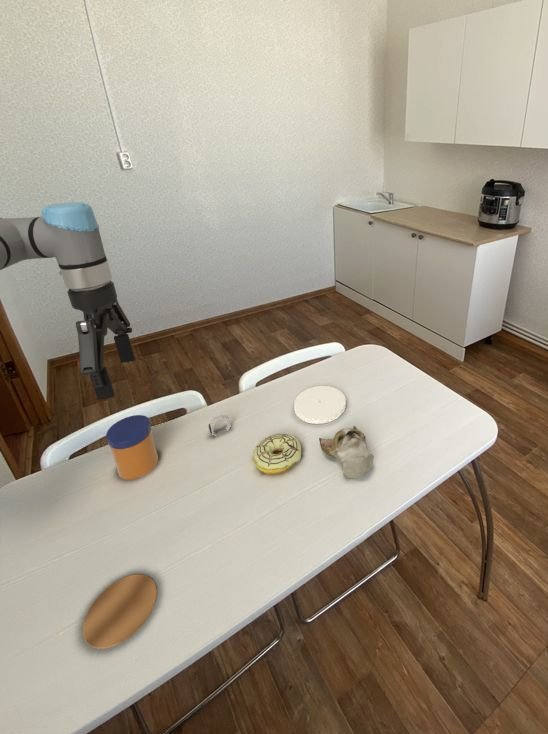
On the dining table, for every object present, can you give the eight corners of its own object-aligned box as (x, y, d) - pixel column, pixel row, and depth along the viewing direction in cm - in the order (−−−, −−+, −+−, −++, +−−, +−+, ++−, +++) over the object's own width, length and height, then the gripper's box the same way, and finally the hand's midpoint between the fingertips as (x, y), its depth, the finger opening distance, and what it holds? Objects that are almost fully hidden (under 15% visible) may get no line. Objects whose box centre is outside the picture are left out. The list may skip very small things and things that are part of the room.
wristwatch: (209, 434, 96) (206, 418, 95) (229, 425, 99) (226, 410, 97) (213, 441, 94) (210, 424, 92) (233, 432, 97) (230, 416, 95)
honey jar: (110, 477, 85) (98, 439, 81) (138, 450, 92) (129, 414, 88) (139, 485, 83) (128, 446, 79) (166, 457, 90) (157, 420, 86)
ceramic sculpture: (339, 460, 77) (314, 418, 90) (341, 495, 79) (317, 449, 92) (385, 443, 81) (355, 405, 94) (386, 476, 83) (357, 435, 96)
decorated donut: (310, 463, 87) (309, 450, 86) (265, 487, 82) (264, 473, 80) (289, 436, 95) (288, 424, 94) (248, 456, 89) (246, 443, 88)
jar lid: (98, 444, 81) (96, 437, 81) (130, 418, 89) (128, 412, 88) (130, 452, 79) (128, 445, 79) (159, 425, 87) (158, 418, 86)
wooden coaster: (67, 638, 57) (66, 635, 57) (123, 570, 66) (122, 567, 66) (121, 661, 55) (119, 657, 54) (171, 586, 64) (170, 583, 63)
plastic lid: (289, 400, 108) (288, 393, 108) (336, 388, 113) (335, 381, 113) (302, 433, 96) (301, 425, 95) (353, 418, 101) (353, 410, 100)
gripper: (93, 267, 84) (118, 351, 91) (32, 314, 61) (71, 420, 69) (131, 263, 86) (152, 346, 93) (85, 307, 63) (117, 412, 70)
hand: (118, 378), depth 81 cm, fingers open, 13 cm apart
